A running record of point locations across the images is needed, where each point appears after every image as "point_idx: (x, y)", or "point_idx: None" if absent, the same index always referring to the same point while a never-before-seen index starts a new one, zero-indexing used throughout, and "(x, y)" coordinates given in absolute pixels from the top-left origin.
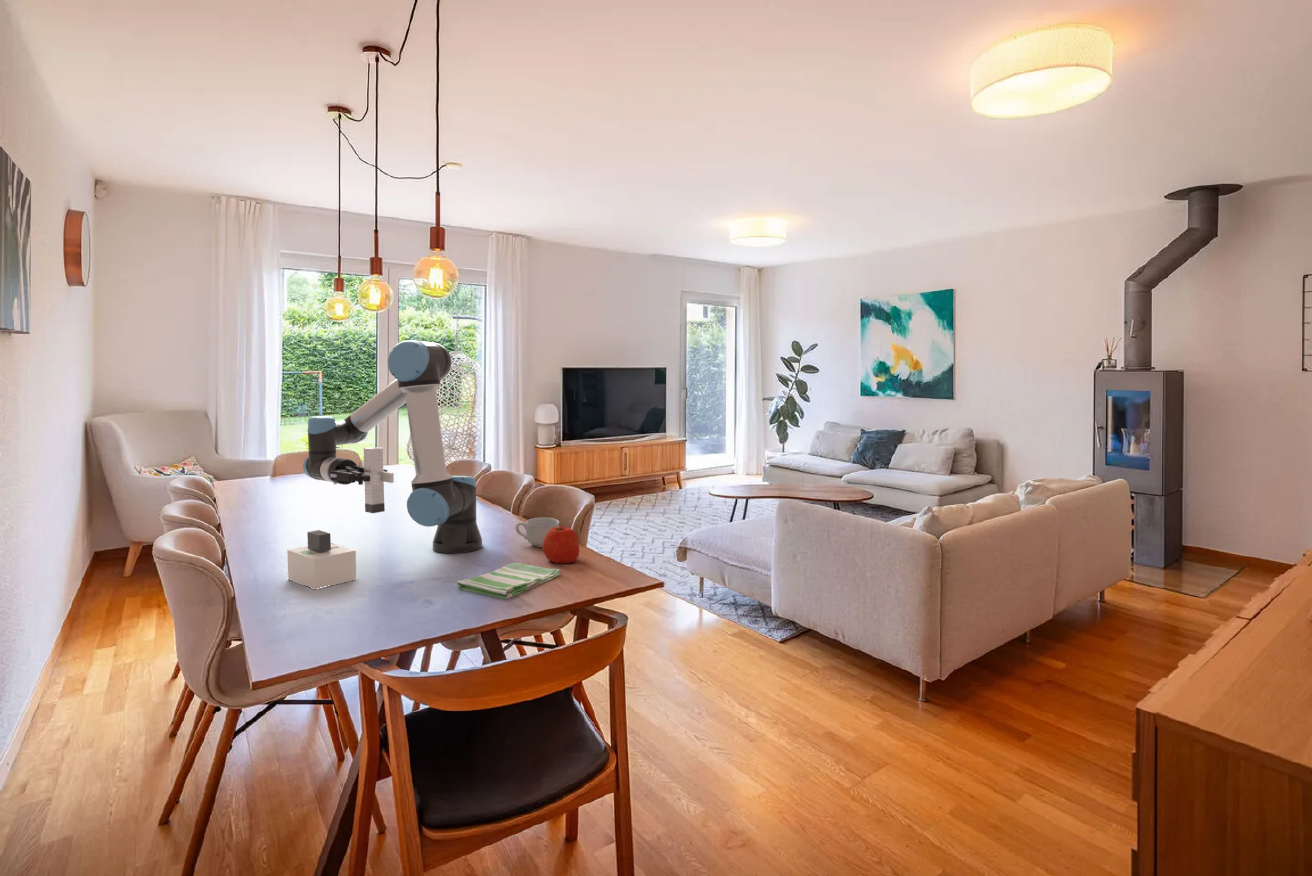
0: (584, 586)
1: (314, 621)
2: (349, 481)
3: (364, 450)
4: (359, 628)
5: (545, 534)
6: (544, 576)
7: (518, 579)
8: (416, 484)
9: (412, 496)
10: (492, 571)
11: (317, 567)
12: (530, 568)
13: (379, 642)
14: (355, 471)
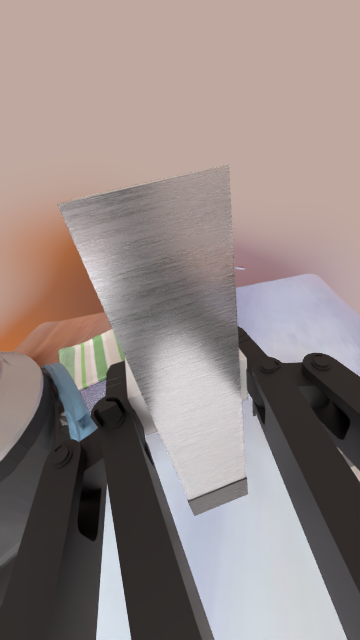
0: (79, 326)
1: (303, 323)
2: (340, 409)
3: (222, 196)
4: (260, 305)
5: None
6: (82, 344)
7: (101, 349)
8: (45, 389)
9: (86, 406)
10: (98, 377)
11: None
12: (67, 367)
13: (247, 289)
14: (331, 491)
